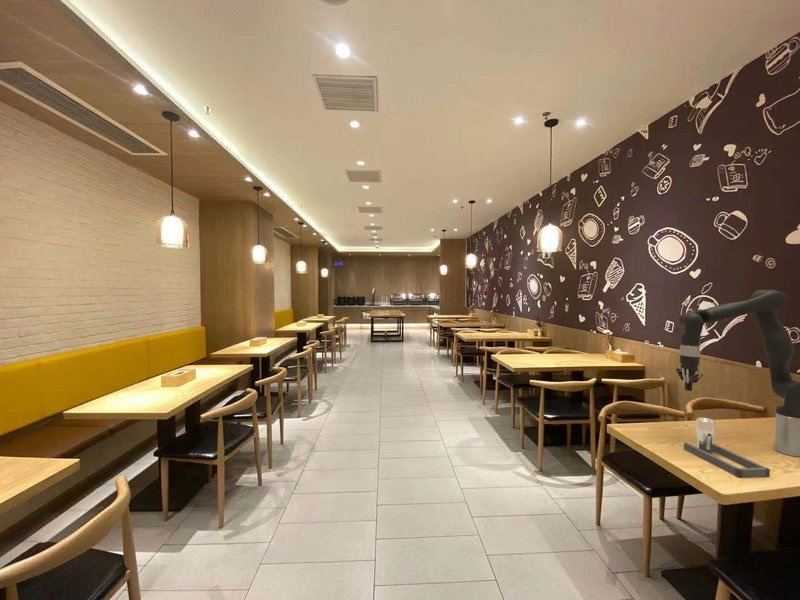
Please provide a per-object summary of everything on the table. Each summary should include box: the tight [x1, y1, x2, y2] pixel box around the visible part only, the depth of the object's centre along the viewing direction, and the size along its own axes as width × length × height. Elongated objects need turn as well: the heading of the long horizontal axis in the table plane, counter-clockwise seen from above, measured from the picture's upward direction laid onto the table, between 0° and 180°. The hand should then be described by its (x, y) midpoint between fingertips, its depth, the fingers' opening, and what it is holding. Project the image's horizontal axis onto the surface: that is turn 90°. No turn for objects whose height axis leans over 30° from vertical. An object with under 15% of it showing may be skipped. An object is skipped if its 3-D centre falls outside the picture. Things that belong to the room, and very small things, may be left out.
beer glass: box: [695, 416, 717, 456], centre depth 164 cm, size 7×7×15 cm
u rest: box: [683, 442, 771, 479], centre depth 155 cm, size 13×26×3 cm, turn 4°
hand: (688, 390), depth 174 cm, fingers closed
